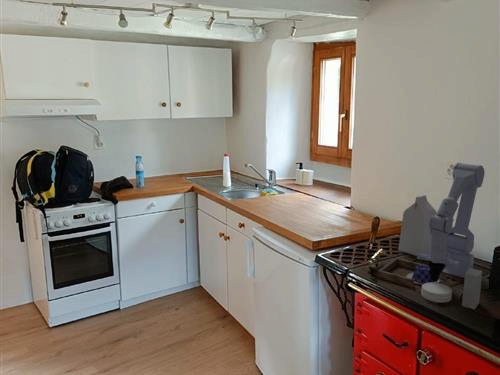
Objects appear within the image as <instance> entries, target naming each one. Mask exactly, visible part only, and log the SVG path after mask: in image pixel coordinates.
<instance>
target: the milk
mask: <svg viewBox="0 0 500 375" xmlns="http://www.w3.org/2000/svg"><path fill="white" fill-rule="evenodd" d="M436 210H437V209H435V208H434V206H433V205H431V203H430V202H429V201H428V198H427V194H421V195H417V196H416V197H415V202H414V203H412V204H411V205H410V206H409V207H407V208H406V209H405V210H404V211H403V214H402V220H401V229H400V235H399V242H398V249H397V250H398V251H399V252H403V253H407V254H409V255H413V256H416V257H417V254H419V253H422V254H430V246H431V234H430V227H429V223H430V219H431V217H432V216H435V215H436V213H437V211H436Z"/></svg>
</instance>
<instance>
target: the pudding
mask: <svg viewBox="0 0 500 375" xmlns="http://www.w3.org/2000/svg"><path fill="white" fill-rule="evenodd" d="M413 270H414V269H413ZM405 277H407V278H411V279H414V284H417V285H421V286H422V285H423V284H425V283H430V282H433V283H440V282H441V280H440V278H439V279H438V281H437V282H434V281H433V277H432V273H431V270H430V268H429V267H428V266H423V265H420V266H416V268H415V270H414V271H413V272H410V273H407V275H406V276H405Z"/></svg>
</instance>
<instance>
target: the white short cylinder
mask: <svg viewBox="0 0 500 375" xmlns="http://www.w3.org/2000/svg"><path fill="white" fill-rule="evenodd" d="M420 294H421V297H423V298H424V299H425V300H427V301H429V302H433V303H440V304H441V303H442V304H443V303H449V302H450V301H451V300H452V296H453V290H452V288H451V287H449V286H448V285H446V284H443V283H440V282H439V283H433V282H430V283H425V284H423V285H421V293H420Z"/></svg>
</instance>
